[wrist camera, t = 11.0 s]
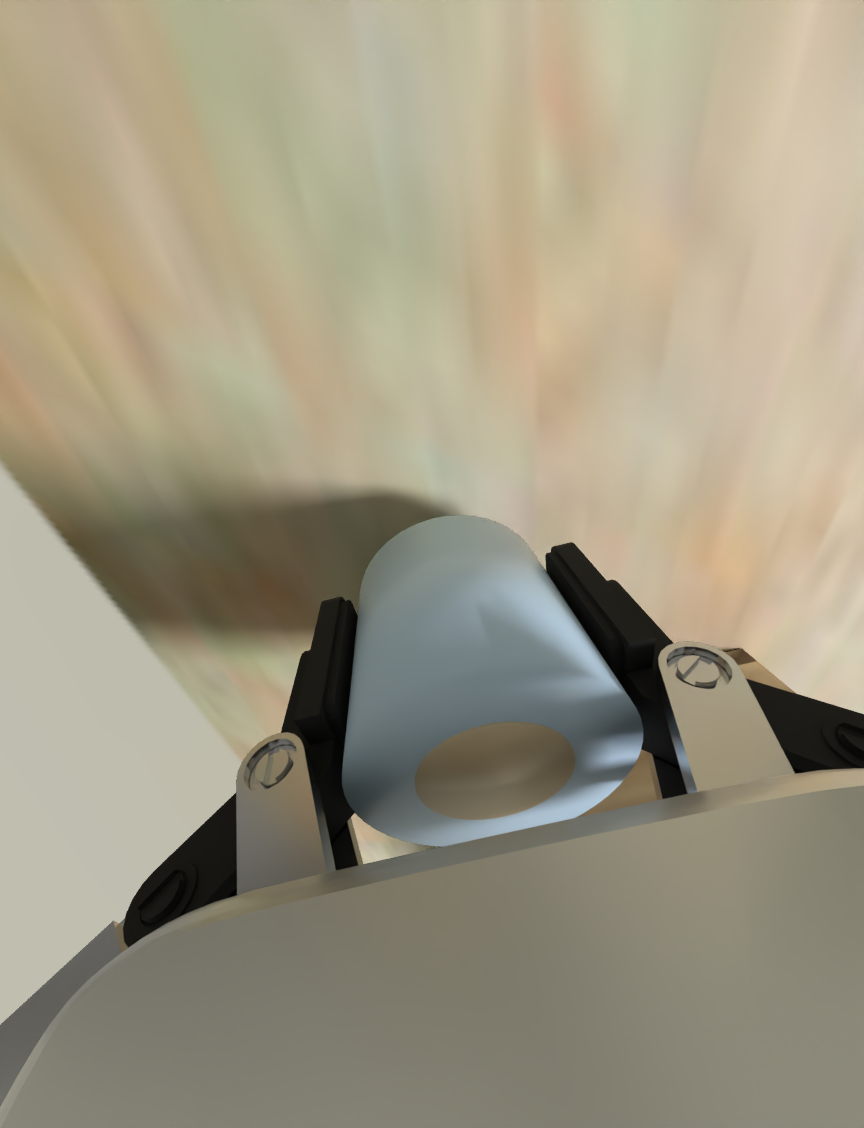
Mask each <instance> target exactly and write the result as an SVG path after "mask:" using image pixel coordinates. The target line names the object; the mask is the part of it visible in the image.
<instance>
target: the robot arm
mask: <svg viewBox="0 0 864 1128" xmlns="http://www.w3.org/2000/svg"><path fill="white" fill-rule="evenodd" d="M546 572H547V573H548V575H549V576H550V578H551V580H552V581H553V583H554V584H555V586H556V587H557V589H558V590H559V592H560V593H561V595H562V596H563V598H564V599H565V601H566V602H567V604H568V605H569V607H570V608H571V610H572V611H573V613H574V614H575V616H576V617H577V619H578V620H579V622H580V623H581V625H582V626H583V628H584V629H585V631H586V632H587V634H588V636H589V637H590V639H591V640H592V642H593V643H594V645H595V646H596V648H597V649H598V651H599V652H600V654H601V655H602V657H603V658H604V660H605V661H606V663H607V664H608V666H609V667H610V669H611V670H612V672H613V673H614V675H615V676H616V678H617V679H618V681H619V682H620V684H621V685H622V687H623V689H624V690H625V692H626V693H627V695H628V696H629V698H630V699H631V701H632V702H633V704H634V705H635V707H636V709H637V711H638V713H639V715H640V717H641V721H642V725H643V743H642V747H641V749H642V750H644V751H646V752H647V757H648V761H649V766H650V770H651V775H652V779H653V784H654V788H655V793H656V797H657V801H652V802H647V803H643V804H638V805H633V806H629V807H624V808H619V809H614V810H610V811H605V812H600V813H596V814H591V815H586V816H581V817H577V818H572V819H568V820H563V821H558V822H554V823H549V824H545V825H540V826H535V827H531V828H526V829H522V830H517V831H512V832H508V833H503V834H499V835H494V836H489V837H485V838H480V839H476V840H471V841H467V842H462V843H457V844H453V845H448V846H444V847H439V848H435V849H430V850H426V851H421V852H417V853H412V854H408V855H403V856H399V857H394V858H390V859H385V860H381V861H376V862H372V863H368V864H363V861H362V857H361V854H360V850H359V846H358V842H357V838H356V834H355V831H354V827H353V823H352V819H351V817H352V815H353V814H354V813H355V812H354V811H353V809H352V808H351V807H350V805H349V803H348V801H347V799H346V797H345V795H344V791H343V787H342V767H343V757H344V747H345V737H346V727H347V717H348V707H349V697H350V687H351V677H352V667H353V657H354V647H355V637H356V627H357V617H358V616H357V614H356V611H355V609H354V606H353V604H352V602H351V601H350V600H347V601H345V600H344V598H343V597H338V598H334V599H330V600H326V601H323V602H322V603H321V607H320V611H319V616H318V620H317V624H316V628H315V632H314V637H313V641H312V645H311V649H310V650H309V651H305V652H304V653H302V656H301V658H300V662H299V666H298V669H297V673H296V677H295V681H294V685H293V688H292V692H291V696H290V700H289V704H288V708H287V711H286V715H285V719H284V723H283V727H282V731H281V733H277V734H275V735H272V736H270V737H267V738H266V739H264V740H263V741H261V742H260V743H258V744H257V745H256V746H255V747H254V748H253V749H252V750H251V751H250V752H249V753H248V754H247V756H246V757H245V758H244V760H243V761H242V763H241V766H240V768H239V770H238V774H237V780H236V793H235V794H234V795H233V796H232V797H231V798H230V799H229V800H228V801H227V802H226V803H225V804H224V805H223V806H222V807H221V808H220V809H219V810H217V811H216V812H215V813H214V814H213V815H212V816H211V817H210V818H209V819H208V820H207V821H206V822H205V823H204V824H203V825H202V826H201V827H200V828H199V829H198V830H197V831H196V832H194V833H193V834H192V835H191V836H190V837H189V838H188V839H187V840H186V841H185V842H184V843H183V844H182V845H181V846H180V847H179V848H178V849H177V850H176V851H175V852H174V853H173V854H172V855H170V856H169V857H168V858H167V860H165V861H164V862H163V863H162V864H161V865H160V866H159V867H158V868H157V869H156V870H155V871H154V872H153V873H152V874H151V875H150V876H149V877H148V879H147V880H146V881H145V882H144V883H143V884H142V886H141V887H140V889H139V890H138V892H137V893H136V895H135V896H134V898H133V900H132V902H131V904H130V907H129V909H128V911H127V913H126V917H125V919H124V920H123V921H122V922H121V923H117V922H115V921H112V922H111V923H110V924H109V925H108V926H107V927H106V928H105V929H104V930H103V931H102V932H101V933H99V934H98V935H97V936H96V937H95V938H94V939H93V940H92V941H91V942H90V943H89V944H88V945H86V946H85V947H84V948H83V949H82V950H81V951H80V952H79V953H78V954H77V955H76V956H75V957H73V958H72V959H71V960H70V961H69V962H68V963H67V964H66V965H65V966H64V967H63V968H61V969H60V970H59V971H58V972H57V973H56V974H55V975H54V976H53V977H52V978H51V979H50V980H48V981H47V982H46V983H45V984H44V985H43V986H42V987H41V988H40V989H39V990H38V991H37V992H36V993H34V994H33V995H32V996H31V997H30V998H29V999H28V1000H27V1001H26V1002H25V1003H23V1004H22V1005H21V1006H20V1007H19V1008H18V1009H17V1010H16V1011H15V1012H14V1013H13V1014H12V1015H11V1016H9V1017H8V1018H7V1019H6V1020H5V1021H4V1022H3V1023H2V1024H1V1025H0V1128H864V714H861V713H857V712H854V711H851V710H848V709H844V708H841V707H838V706H834V705H831V704H828V703H825V702H821V701H818V700H815V699H812V698H808V697H805V696H802V695H798V694H795V693H792V692H789V691H785V690H782V689H779V688H776V687H772V686H769V685H766V684H762V683H759V682H756V681H753V680H749V679H746V678H745V676H744V674H743V673H742V671H741V669H740V667H739V666H738V664H737V663H736V662H735V660H734V659H733V658H731V657H730V656H729V655H727V654H726V653H725V652H723V651H721V650H719V649H717V648H715V647H713V646H710V645H707V644H703V643H699V642H690V641H686V642H676V643H673V642H672V641H671V640H670V639H669V638H668V637H667V636H666V634H665V633H664V632H663V631H662V630H661V629H660V628H659V627H658V626H657V625H656V624H655V622H654V621H653V620H652V619H651V618H650V617H649V616H648V615H647V614H646V613H645V611H644V610H643V609H642V608H641V607H640V606H639V605H638V604H637V603H636V602H635V601H634V599H633V598H632V597H631V596H630V595H629V594H628V593H627V592H626V591H625V590H624V588H623V587H622V586H621V585H620V584H619V583H618V582H616V581H615V580H609V581H606V579H605V578H604V577H603V576H602V575H601V574H600V573H599V571H598V570H597V569H596V568H595V567H594V566H593V565H592V563H591V562H590V561H589V560H588V559H587V558H586V557H585V555H584V554H583V553H582V552H581V551H580V550H579V549H578V547H577V546H576V545H575V544H574V543H572V542H571V543H566V544H562V545H558V546H554V547H552V549H551V552H550V553H547V554H546Z"/></svg>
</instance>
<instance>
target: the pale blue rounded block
mask: <svg viewBox="0 0 864 1128" xmlns="http://www.w3.org/2000/svg"><path fill="white" fill-rule="evenodd" d="M642 743H643V725H642V721H641V717H640V715H639V713H638V711H637V709H636V707H635V705H634V704H633V702H632V701H631V699H630V698H629V696H628V695H627V693H626V692H625V690H624V689H623V687H622V685H621V684H620V682H619V681H618V679H617V678H616V676H615V675H614V673H613V672H612V670H611V669H610V667H609V666H608V664H607V663H606V661H605V660H604V658H603V657H602V655H601V654H600V652H599V651H598V649H597V648H596V646H595V645H594V643H593V642H592V640H591V639H590V637H589V636H588V634H587V632H586V631H585V629H584V628H583V626H582V625H581V623H580V622H579V620H578V619H577V617H576V616H575V614H574V613H573V611H572V610H571V608H570V607H569V605H568V604H567V602H566V601H565V599H564V598H563V596H562V595H561V593H560V592H559V590H558V589H557V587H556V586H555V584H554V583H553V581H552V580H551V578H550V576H549V575H548V573H547V572H546V570H545V569H544V567H543V566H542V564H541V563H540V561H539V560H538V558H537V557H536V555H535V554H534V552H533V551H532V549H531V548H530V547H529V545H528V544H527V543H526V542H525V541H524V540H523V539H522V538H521V537H520V536H519V535H518V534H517V533H515V532H514V531H512V530H511V529H510V528H508V527H506V526H504V525H502V524H500V523H498V522H495V521H492V520H489V519H486V518H481V517H476V516H466V515H453V516H443V517H438V518H433V519H429V520H426V521H423V522H420V523H417V524H415V525H413V526H411V527H408V528H407V529H405V530H403V531H402V532H400V533H398V534H397V535H395V536H394V537H393V538H392V539H390V540H389V541H388V542H387V543H386V544H385V545H384V546H383V547H382V548H381V549H380V550H379V551H378V552H377V553H376V555H375V556H374V557H373V559H372V560H371V562H370V563H369V565H368V567H367V569H366V571H365V574H364V577H363V579H362V584H361V589H360V597H359V607H358V617H357V627H356V637H355V647H354V657H353V667H352V677H351V687H350V697H349V707H348V717H347V727H346V737H345V747H344V757H343V767H342V787H343V791H344V795H345V797H346V799H347V801H348V803H349V805H350V807H351V808H352V809H353V811H354V812H355V813H356V814H357V815H358V816H359V817H360V818H361V819H362V820H363V821H364V822H365V823H367V824H368V825H370V826H371V827H373V828H375V829H376V830H378V831H380V832H382V833H384V834H386V835H389V836H391V837H394V838H397V839H400V840H403V841H407V842H412V843H416V844H422V845H428V846H439V847H444V846H448V845H453V844H457V843H462V842H467V841H471V840H476V839H480V838H485V837H489V836H494V835H499V834H503V833H508V832H512V831H517V830H522V829H526V828H531V827H535V826H540V825H545V824H549V823H554V822H558V821H563V820H568V819H572V818H576V817H577V816H579V815H581V814H583V813H585V812H586V811H588V810H589V809H591V808H592V807H594V806H595V805H597V804H598V803H600V802H601V801H602V800H603V799H605V798H606V797H607V796H609V795H610V794H611V793H612V792H613V791H614V790H615V789H616V788H617V787H618V786H619V785H620V784H621V783H622V782H623V780H624V779H625V778H626V777H627V776H628V774H629V773H630V771H631V770H632V768H633V767H634V765H635V763H636V761H637V759H638V757H639V754H640V752H641V747H642Z"/></svg>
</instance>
